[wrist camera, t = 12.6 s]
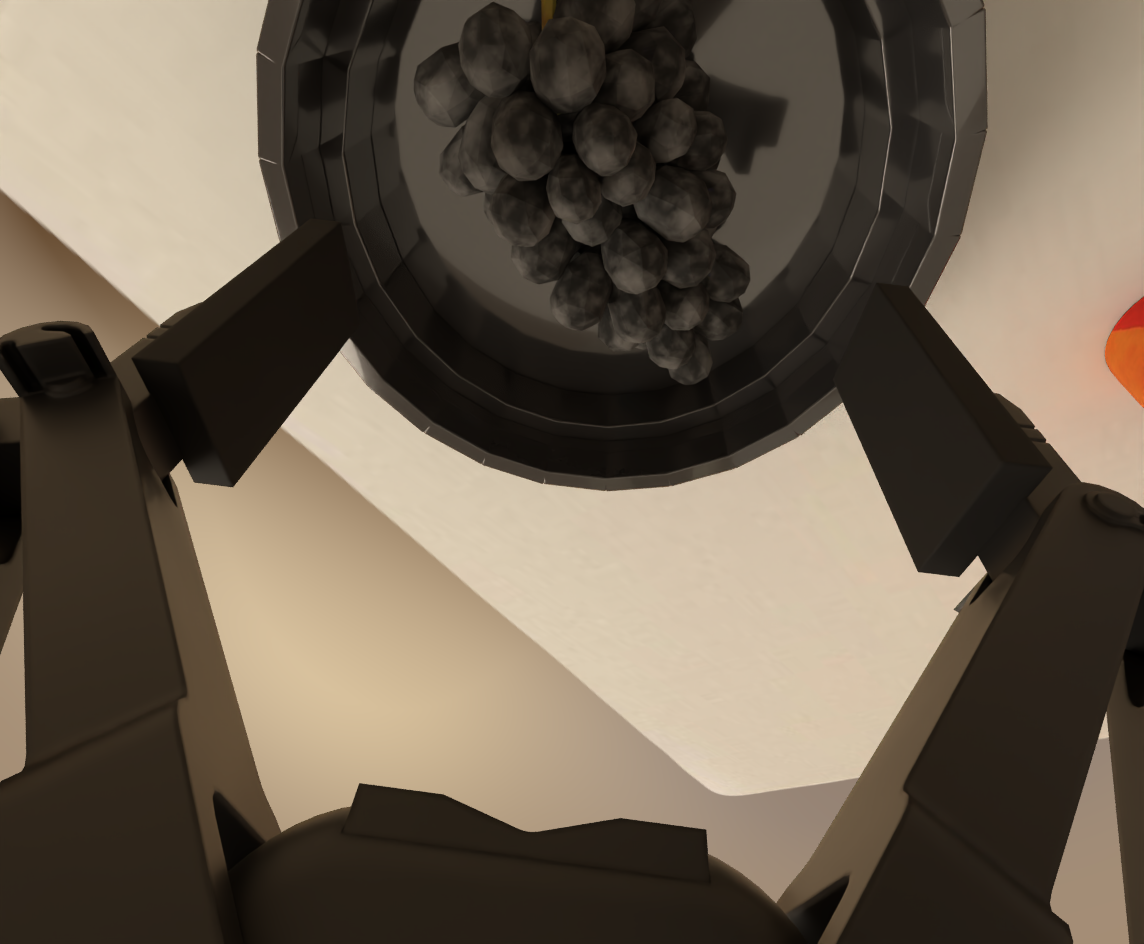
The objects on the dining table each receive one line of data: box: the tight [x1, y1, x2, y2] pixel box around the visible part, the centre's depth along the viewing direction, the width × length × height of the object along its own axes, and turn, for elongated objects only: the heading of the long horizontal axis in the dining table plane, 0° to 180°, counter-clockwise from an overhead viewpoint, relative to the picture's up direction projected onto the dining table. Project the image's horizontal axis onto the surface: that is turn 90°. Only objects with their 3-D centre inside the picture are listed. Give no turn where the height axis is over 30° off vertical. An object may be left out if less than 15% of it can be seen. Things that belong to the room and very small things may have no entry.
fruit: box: [414, 0, 751, 385], centre depth 20 cm, size 9×8×15 cm
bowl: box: [256, 0, 988, 491], centre depth 21 cm, size 22×22×6 cm
